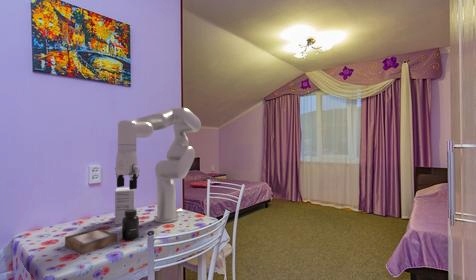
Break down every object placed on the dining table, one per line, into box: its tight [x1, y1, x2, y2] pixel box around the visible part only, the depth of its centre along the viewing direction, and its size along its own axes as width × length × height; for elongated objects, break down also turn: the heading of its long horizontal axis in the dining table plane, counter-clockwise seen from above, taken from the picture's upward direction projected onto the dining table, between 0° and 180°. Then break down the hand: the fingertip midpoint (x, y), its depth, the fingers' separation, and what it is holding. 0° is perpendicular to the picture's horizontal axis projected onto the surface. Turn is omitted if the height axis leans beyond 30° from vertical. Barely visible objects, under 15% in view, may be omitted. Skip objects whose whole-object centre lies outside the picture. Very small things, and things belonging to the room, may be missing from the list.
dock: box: [64, 227, 118, 256], centre depth 106 cm, size 14×14×4 cm
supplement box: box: [114, 186, 136, 225], centre depth 136 cm, size 10×9×17 cm
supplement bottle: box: [121, 209, 140, 242], centre depth 112 cm, size 7×7×12 cm
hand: (126, 187), depth 113 cm, fingers open, 9 cm apart
